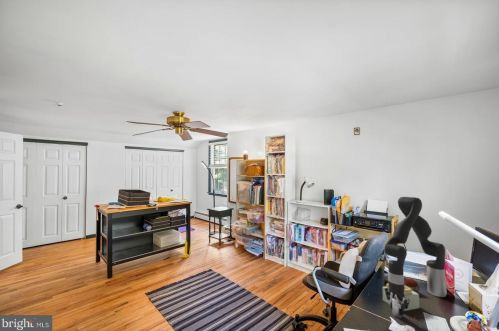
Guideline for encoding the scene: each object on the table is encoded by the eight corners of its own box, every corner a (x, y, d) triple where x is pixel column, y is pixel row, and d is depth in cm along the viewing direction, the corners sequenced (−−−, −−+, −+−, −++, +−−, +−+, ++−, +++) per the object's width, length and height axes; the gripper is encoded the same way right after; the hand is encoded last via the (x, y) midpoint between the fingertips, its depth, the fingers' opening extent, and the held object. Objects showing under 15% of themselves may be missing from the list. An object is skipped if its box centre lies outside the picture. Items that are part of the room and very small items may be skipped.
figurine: (379, 276, 150) (400, 270, 156) (380, 288, 150) (401, 282, 156) (400, 287, 136) (422, 280, 142) (400, 301, 136) (423, 294, 142)
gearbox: (396, 294, 141) (395, 278, 142) (419, 307, 127) (418, 289, 127) (378, 297, 138) (378, 280, 138) (400, 311, 123) (399, 292, 124)
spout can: (396, 312, 123) (396, 293, 123) (404, 317, 118) (403, 297, 119) (390, 313, 122) (389, 294, 122) (397, 318, 117) (397, 298, 118)
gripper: (413, 286, 115) (415, 319, 114) (390, 274, 129) (390, 303, 128) (402, 287, 113) (404, 321, 112) (380, 275, 127) (380, 305, 126)
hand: (397, 311), depth 120 cm, fingers closed on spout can, 4 cm apart
